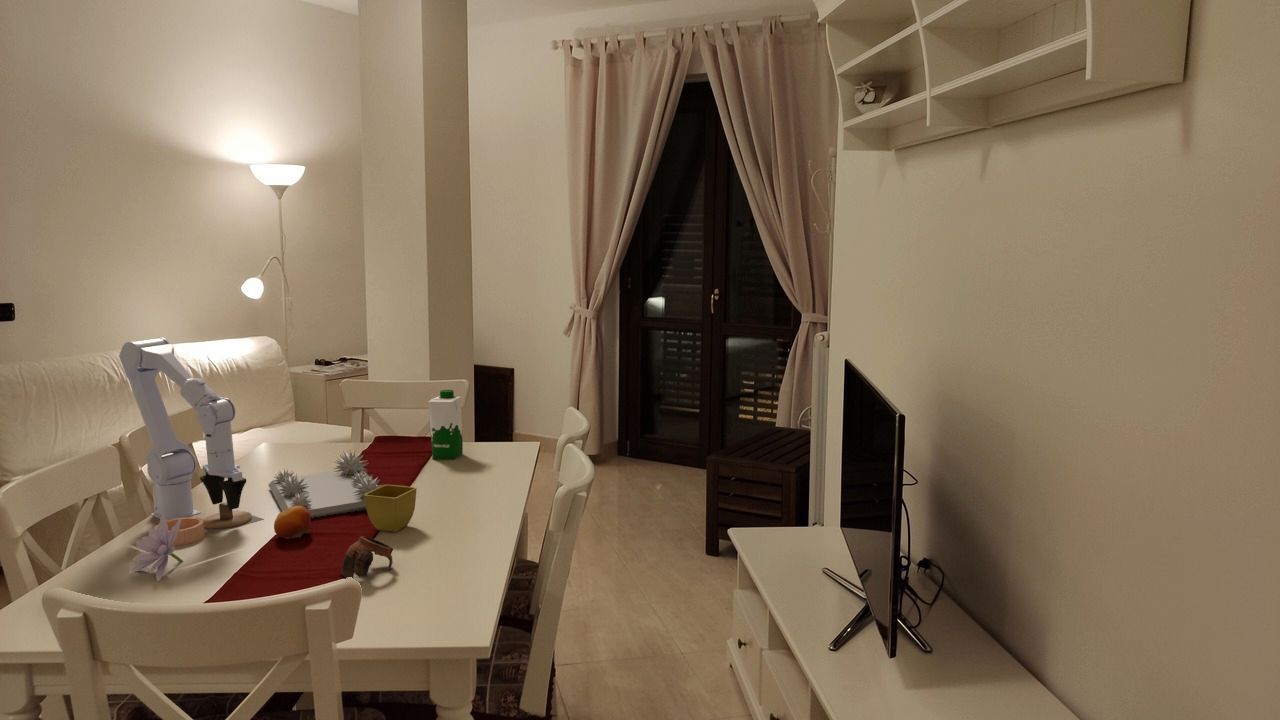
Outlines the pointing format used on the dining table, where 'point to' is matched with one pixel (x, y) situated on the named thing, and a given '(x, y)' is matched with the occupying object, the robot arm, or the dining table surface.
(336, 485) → the decorative tray
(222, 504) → the lid
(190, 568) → the dining table surface
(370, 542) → the pottery mug
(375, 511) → the flower pot
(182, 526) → the bowl
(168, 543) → the water lily
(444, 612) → the dining table surface
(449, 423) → the milk carton
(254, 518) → the mat
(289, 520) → the fruit
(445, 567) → the dining table surface
